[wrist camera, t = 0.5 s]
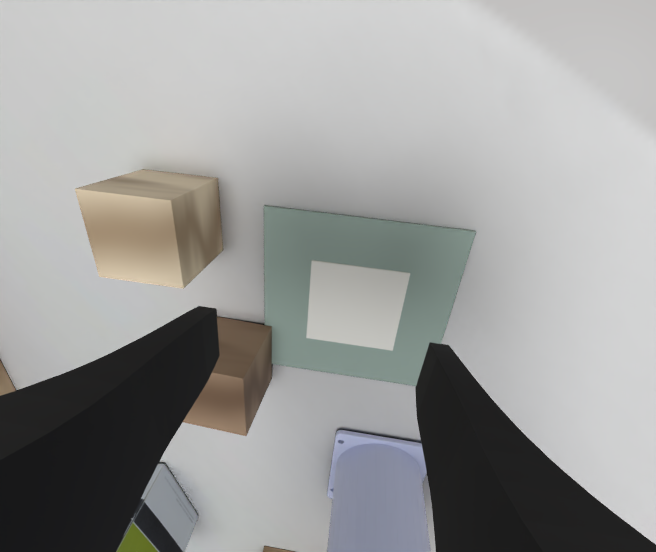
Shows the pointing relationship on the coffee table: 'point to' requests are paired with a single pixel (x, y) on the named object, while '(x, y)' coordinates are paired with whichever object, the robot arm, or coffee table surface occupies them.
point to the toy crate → (5, 381)
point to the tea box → (160, 517)
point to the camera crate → (274, 549)
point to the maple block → (153, 226)
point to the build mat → (358, 291)
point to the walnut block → (235, 378)
